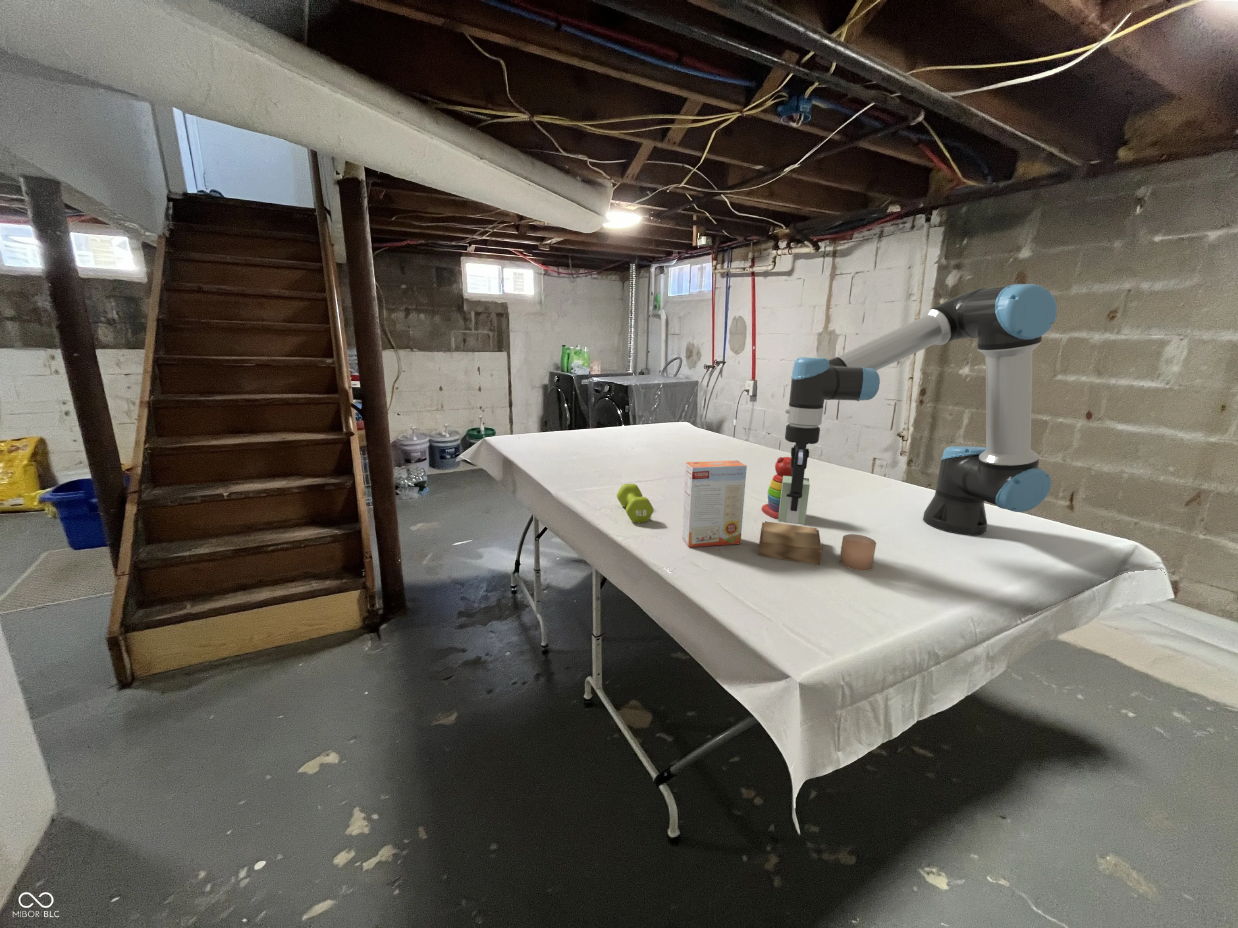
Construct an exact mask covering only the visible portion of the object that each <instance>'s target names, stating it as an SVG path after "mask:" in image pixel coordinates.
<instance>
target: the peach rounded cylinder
mask: <svg viewBox="0 0 1238 928" xmlns="http://www.w3.org/2000/svg"><path fill="white" fill-rule="evenodd" d="M876 547H877V542H876V540H874V539H872V538H871V537H869V536H866V535H862V534H853V533H850V534H844V535H843V536H842V542H841V548H840V554H839V555H840V556H839V559H838V560H839V563H840V564H841V565H842V566H844V567H846V568H848V569H851V570H855V571H860V572H861V571H864V572H865V571H870V570H872V569H873V564H874V559H875V553H876Z"/></svg>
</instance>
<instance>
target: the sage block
mask: <svg viewBox="0 0 1238 928" xmlns="http://www.w3.org/2000/svg"><path fill="white" fill-rule="evenodd" d="M791 481H792V477H791V476H783V482H782V490H781V499H780V508H779V519H777V520H778V522H777V523H779V522H780V523H784V524H790V523H789V522H786V516H787V508H788V500H789V497H786V495H787V494H789V493H790V490H791ZM810 485H811V484H810V478H809V477H807V478H806V477H804V480H803V488H802V497H801V503H800V511H799V519H798V524H796V523H792V525H799V526H801V525H803V526H805V524H806V516H807V511H808V510H807V509H808V502H809V495H810V494H809V493H810V487H811V486H810Z"/></svg>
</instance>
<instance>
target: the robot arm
mask: <svg viewBox="0 0 1238 928" xmlns="http://www.w3.org/2000/svg"><path fill="white" fill-rule="evenodd" d="M1056 301H1057V300H1056V299H1055V297H1054V295H1053V294H1052V292H1051V291H1050V290H1048V289H1046V288H1045V287H1044V286H1042V285H1039V284H1035V283H1025V284H1024V283H1014V284H1009V285H1008V284H1007V285H1001V286H995V287H994V286H993V287H988V288H987V287H986V288H985V287H983V288H977V289H976V288H975V289H973V290H970V291H967V292H964V293H962V294H960V295H958V296H955V297H954V298H951V299H949V300H947V301H945V302H942V303H941V304H938V305H936V306H934V307H932V308H930V309H928V310H926V311H925V312H923V314H922V317H920V318H917V319H915V320H913V321H911V322H909V323H907V324H905V325H902V326H901V327H898V328H896V329H894V330H892V331H890V332H888V333H885V334H883V335H880V336H879V337H877V338H876V337H875V339H872V340H869V341H868V342H866V343H864V344H863V343H862V344H861V345H859V346H857V347H855V348H853V349H850V350H848V351H846V352H844V353H842V354H840V355H838V356H836V357H834V358H830V359H828V358H826V357H806V356H805V357H804V356H803V357H801V356H800V357H798V358H796V359H795V361H794V363H793V367H792V372H791V377H790V378H791V381H790V392H789V393H790V394H789V402H788V408H787V409H785V410H784V412H785V414H788V415H787V420H786V421H787V423H788V424H787V425H786V426H785V433H784V439H785V440H786V441H787V442H789V443H795V444H794V446H792V447H791V450H790V457H791V468H792V469H791V477H792V481H791V490H790V493H789V494H787V495H786V497H789V500H788V508H787V516H786V522H789V523H788V524H793V523H796V524H795V525H799V524H798V519H799V511H800V503H801V497H802V488H803V480H804V478H805V472H806V469H807V467H808V466H807V465H808V459H809V457H810V449H809V448H807V445H815V444H817V443H819V440H820V436H821V435H820V433H821V427H819V426H821V425H822V421H823V413H824V403H825V400H826V401H834V400H835V401H856V402H860V401H870V400H872V399H873V398H874V397H875V396H877V394H878V392H879V389H880V383H881V379H880V375H879V373H878V371H879V370H881V369H884V368H886V367H888V366H890V365H891V364H894V363H897V362H898V361H900V360H904V359H905V358H907V357H910V356H912V355H915V354H917V353H919V352H920V351H923V350H925V349H927V348H929V347H932V346H934V345H935V346H943V345H945V344H948V343H950V342H953V341H958V340H962V339H963V340H965V339H977V343H976V344H977V351H978V352H979V353H981V354H983V355H984V356H985V439H986V441H985V446H984V447H983V446H966V445H963V446H962V445H960V446H959V445H950V446H948V447H946V448H945V449H944V450H943V453H942V456H941V459H940V463H939V464H940V466H939V471H938V475H937V481H936V486H935V492H934V496H933V498H932V499H931V500H930V502H929V503H928V506H927V507H926V508H925V510H924V512H923V516H922V521H923V522H924V523H926V524H927V525H929V526H930V527H934V528H936V529H938V530H940V531H941V530H942V531H945V532H948V533H955V534H960V535H967V534H979V535H983V534H985V533H986V532H987V528H988V521H987V514H986V509H985V502H987V503H989V504H992V505H995V506H996V507H998V508H999V509H1003V510H1007V511H1010V512H1015V513H1024V512H1028V511H1031V510H1032V509H1034V508H1037V507H1038V506H1039V505H1040V504H1041V503H1042V502H1043V501H1044V500H1045V499H1046V498H1047V497H1048V496H1049V494H1050V491H1051V489H1052V485H1053V484H1052V477H1051V476H1050V474H1049V473H1047V471H1046V470H1044V469H1042V468H1040V467H1039V465H1040V464H1039V463H1040V457H1039V454H1038V453H1037V452H1035V451H1034V450H1032V448H1031V447H1032V403H1033V402H1032V401H1033V400H1032V399H1033V397H1032V396H1033V395H1032V394H1033V393H1032V392H1033V352H1034V350H1035V349H1037V347H1038V346H1039V345H1041V344H1042V336H1044V335H1045V334H1047V333H1048V331H1050V330H1051V328H1052V325H1053V324H1055V322H1056V320H1057V319H1056V318H1057V314H1058V307H1057V306H1058V305H1057V302H1056ZM984 532H985V533H984ZM982 533H983V534H982Z"/></svg>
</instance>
